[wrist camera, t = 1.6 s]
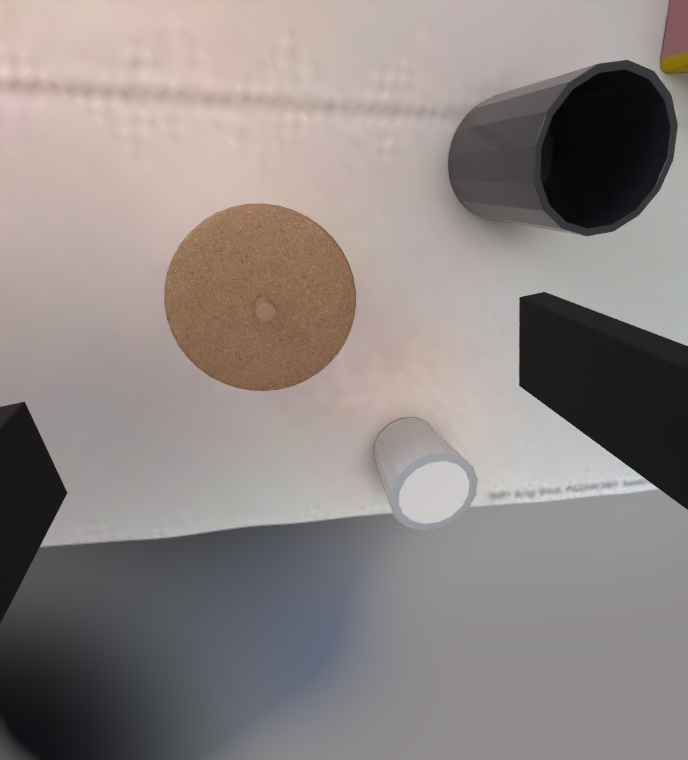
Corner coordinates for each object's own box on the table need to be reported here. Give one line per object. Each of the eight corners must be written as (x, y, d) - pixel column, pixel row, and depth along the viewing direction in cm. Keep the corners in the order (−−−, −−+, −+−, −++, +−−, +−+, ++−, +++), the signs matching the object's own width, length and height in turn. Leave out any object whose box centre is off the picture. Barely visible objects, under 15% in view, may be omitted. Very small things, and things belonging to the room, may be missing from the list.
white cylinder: (452, 414, 42) (489, 456, 36) (431, 482, 45) (463, 533, 38) (376, 407, 41) (402, 449, 34) (359, 478, 43) (380, 530, 37)
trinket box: (356, 311, 37) (391, 351, 29) (228, 374, 37) (225, 433, 29) (293, 170, 33) (312, 168, 24) (147, 241, 32) (115, 264, 24)
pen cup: (433, 202, 35) (510, 213, 25) (470, 78, 33) (573, 36, 23) (528, 230, 37) (633, 250, 27) (569, 115, 35) (703, 91, 25)
